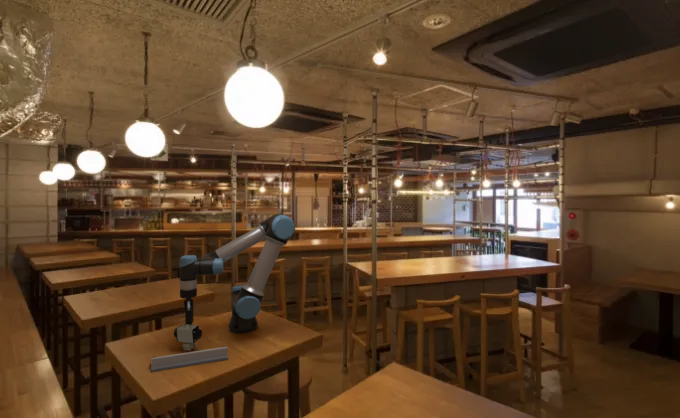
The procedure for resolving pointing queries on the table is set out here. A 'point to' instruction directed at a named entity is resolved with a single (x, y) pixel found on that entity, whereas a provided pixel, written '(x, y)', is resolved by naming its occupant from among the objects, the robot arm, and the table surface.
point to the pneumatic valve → (188, 335)
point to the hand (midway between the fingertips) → (188, 337)
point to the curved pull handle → (188, 359)
